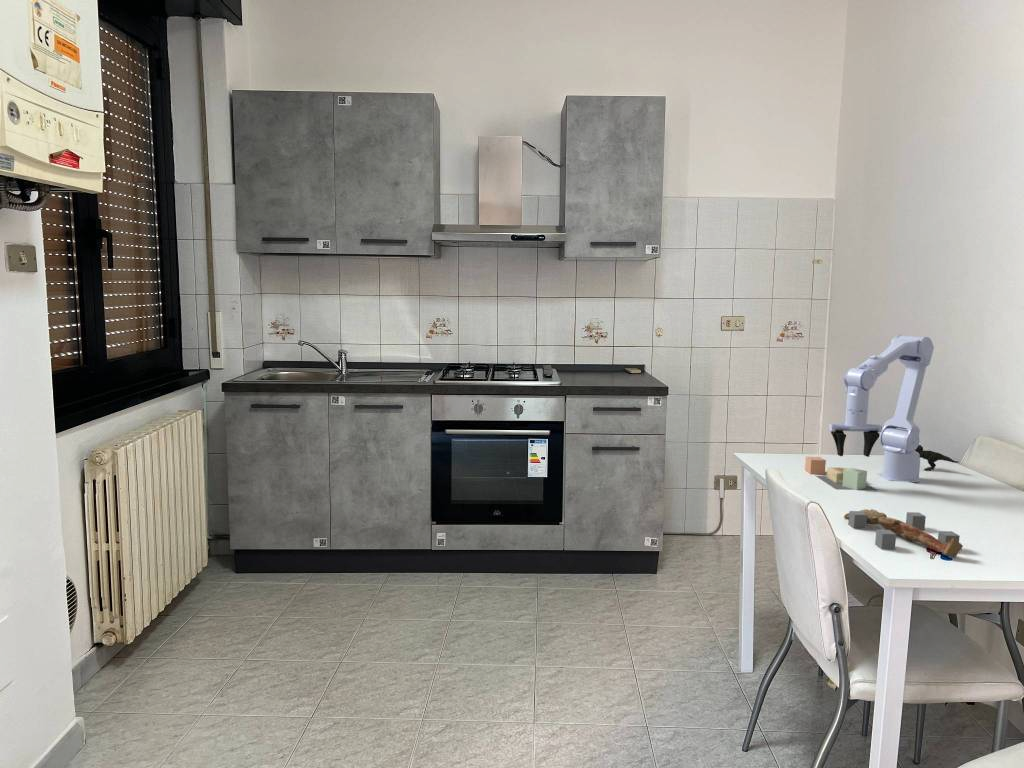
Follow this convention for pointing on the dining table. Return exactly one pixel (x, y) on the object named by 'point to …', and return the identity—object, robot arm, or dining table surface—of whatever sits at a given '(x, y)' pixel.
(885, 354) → the robot arm
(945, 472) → the dining table surface
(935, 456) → the toy
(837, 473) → the oak slab
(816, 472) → the terracotta cube
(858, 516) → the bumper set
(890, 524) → the figurine
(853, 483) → the sage cube
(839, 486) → the mat
